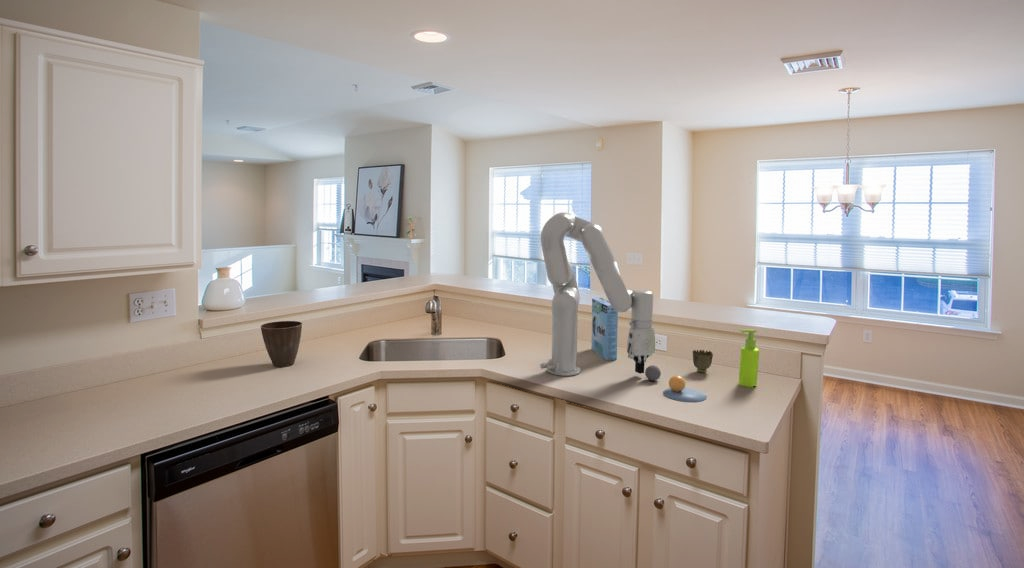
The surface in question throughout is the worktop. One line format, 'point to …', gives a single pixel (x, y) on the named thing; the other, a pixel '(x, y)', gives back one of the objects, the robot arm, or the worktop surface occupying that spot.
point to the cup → (702, 360)
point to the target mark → (685, 395)
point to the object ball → (677, 383)
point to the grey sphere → (652, 373)
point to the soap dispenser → (749, 361)
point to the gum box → (604, 329)
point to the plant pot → (282, 341)
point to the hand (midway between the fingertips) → (639, 372)
